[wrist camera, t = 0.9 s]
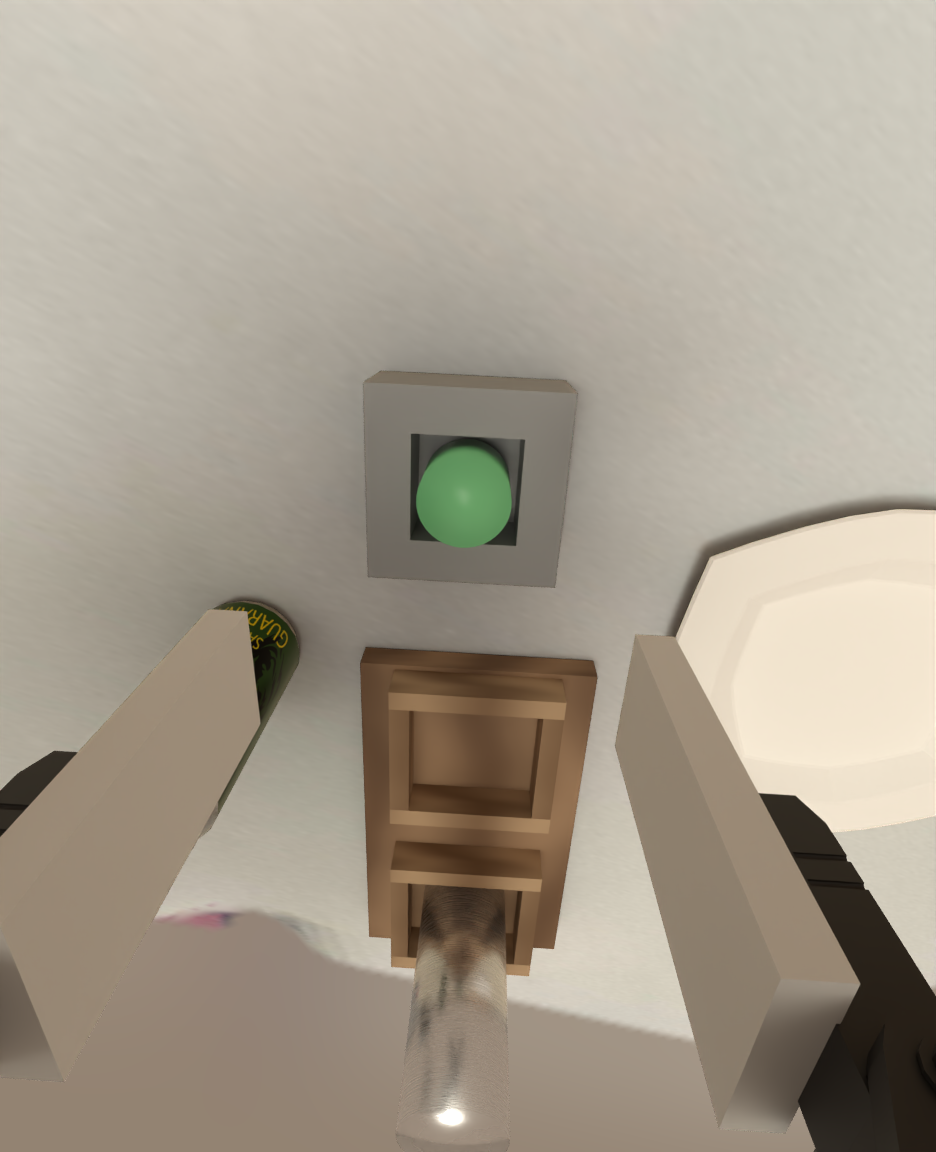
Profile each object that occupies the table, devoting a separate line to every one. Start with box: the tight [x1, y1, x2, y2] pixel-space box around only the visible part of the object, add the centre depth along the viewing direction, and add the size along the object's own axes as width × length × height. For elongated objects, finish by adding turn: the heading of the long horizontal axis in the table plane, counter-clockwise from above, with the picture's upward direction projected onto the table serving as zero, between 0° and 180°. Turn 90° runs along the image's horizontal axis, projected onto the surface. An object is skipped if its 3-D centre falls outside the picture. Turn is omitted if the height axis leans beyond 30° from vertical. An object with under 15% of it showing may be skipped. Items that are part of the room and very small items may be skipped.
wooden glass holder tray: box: [360, 647, 597, 976], centre depth 35 cm, size 12×21×4 cm, turn 177°
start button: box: [416, 439, 512, 548], centre depth 24 cm, size 4×4×3 cm
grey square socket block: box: [363, 371, 578, 588], centre depth 26 cm, size 8×8×4 cm
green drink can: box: [192, 601, 300, 849], centre depth 27 cm, size 5×5×12 cm
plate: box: [676, 509, 936, 832], centre depth 31 cm, size 19×19×2 cm
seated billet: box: [396, 885, 510, 1152], centre depth 32 cm, size 5×5×12 cm
